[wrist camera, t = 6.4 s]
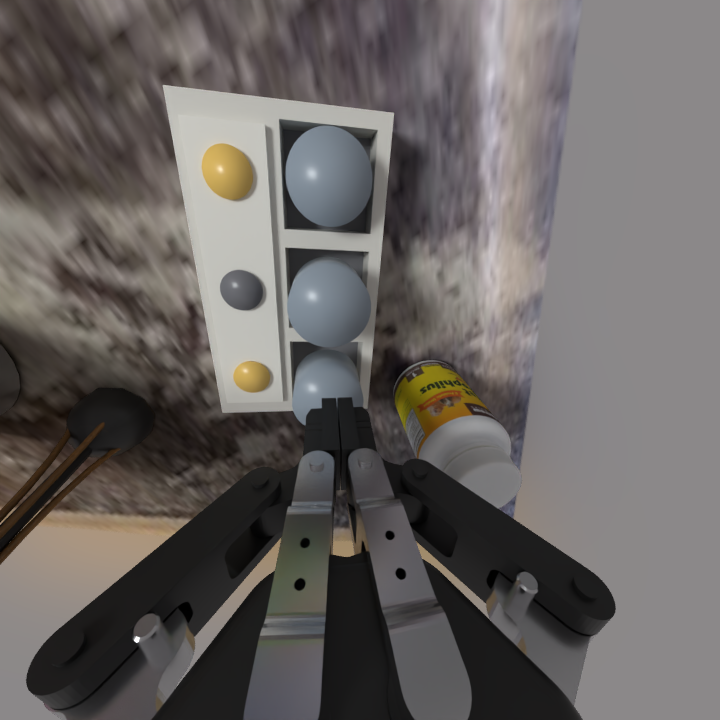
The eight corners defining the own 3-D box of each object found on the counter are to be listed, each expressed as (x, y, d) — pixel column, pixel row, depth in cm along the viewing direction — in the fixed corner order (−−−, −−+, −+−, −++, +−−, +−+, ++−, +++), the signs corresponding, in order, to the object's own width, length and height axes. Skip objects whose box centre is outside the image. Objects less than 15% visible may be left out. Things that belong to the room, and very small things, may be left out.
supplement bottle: (464, 358, 24) (556, 451, 15) (446, 414, 26) (515, 524, 17) (397, 354, 23) (451, 450, 14) (385, 412, 25) (424, 527, 16)
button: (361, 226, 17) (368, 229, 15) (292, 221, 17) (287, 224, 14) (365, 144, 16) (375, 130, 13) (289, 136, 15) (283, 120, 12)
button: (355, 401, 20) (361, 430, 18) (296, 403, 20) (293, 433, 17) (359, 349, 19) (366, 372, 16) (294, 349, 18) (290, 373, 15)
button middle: (360, 327, 18) (368, 347, 15) (293, 326, 17) (289, 347, 15) (364, 258, 16) (374, 267, 13) (290, 254, 16) (284, 264, 13)
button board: (362, 390, 24) (367, 408, 21) (231, 392, 22) (222, 412, 20) (383, 126, 16) (393, 112, 14) (186, 103, 15) (162, 84, 12)
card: (283, 399, 20) (282, 403, 20) (228, 400, 20) (226, 404, 19) (265, 125, 13) (263, 122, 13) (180, 116, 13) (175, 112, 12)
